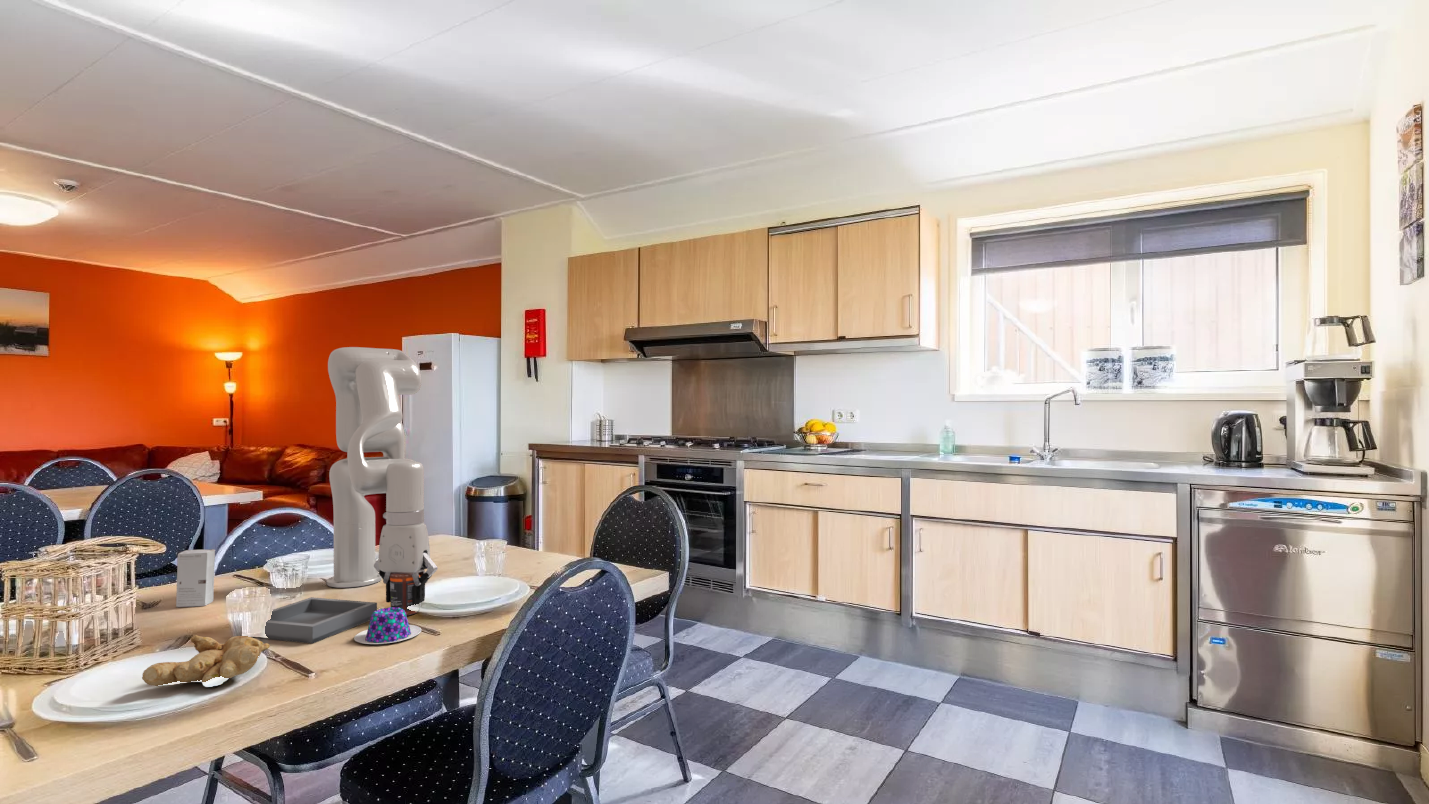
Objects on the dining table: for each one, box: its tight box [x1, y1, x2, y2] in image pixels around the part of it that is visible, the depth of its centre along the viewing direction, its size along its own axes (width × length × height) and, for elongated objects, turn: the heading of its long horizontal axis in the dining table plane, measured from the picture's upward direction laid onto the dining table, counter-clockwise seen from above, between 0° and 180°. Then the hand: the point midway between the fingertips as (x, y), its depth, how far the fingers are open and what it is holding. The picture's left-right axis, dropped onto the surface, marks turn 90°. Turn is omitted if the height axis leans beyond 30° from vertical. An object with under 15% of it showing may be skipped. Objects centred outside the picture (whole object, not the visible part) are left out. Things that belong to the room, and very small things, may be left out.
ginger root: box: [141, 634, 271, 687], centre depth 118 cm, size 16×16×8 cm
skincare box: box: [175, 549, 216, 608], centre depth 162 cm, size 6×4×12 cm
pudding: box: [353, 606, 422, 645], centre depth 140 cm, size 12×12×5 cm
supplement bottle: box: [389, 573, 420, 616], centre depth 155 cm, size 6×6×11 cm
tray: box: [265, 596, 378, 644], centre depth 146 cm, size 17×17×3 cm
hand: (405, 601), depth 155 cm, fingers closed on supplement bottle, 6 cm apart
